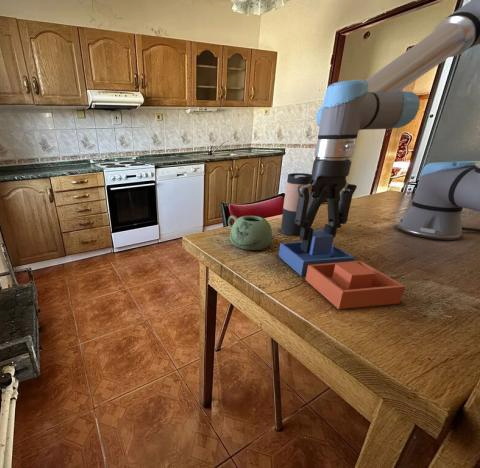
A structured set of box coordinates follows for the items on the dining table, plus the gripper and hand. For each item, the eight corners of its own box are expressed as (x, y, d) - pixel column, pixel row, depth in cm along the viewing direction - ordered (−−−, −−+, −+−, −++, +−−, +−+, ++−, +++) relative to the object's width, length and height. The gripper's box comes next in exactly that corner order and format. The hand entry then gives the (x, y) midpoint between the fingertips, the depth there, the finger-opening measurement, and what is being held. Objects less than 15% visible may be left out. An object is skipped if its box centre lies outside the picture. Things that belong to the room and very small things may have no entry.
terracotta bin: (356, 275, 63) (360, 260, 61) (399, 303, 52) (405, 286, 51) (305, 279, 62) (308, 264, 60) (338, 309, 51) (342, 292, 50)
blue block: (317, 246, 70) (321, 229, 68) (330, 254, 65) (334, 236, 64) (300, 247, 70) (303, 230, 68) (311, 255, 65) (315, 237, 63)
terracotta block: (351, 281, 59) (356, 262, 57) (368, 294, 55) (375, 273, 53) (330, 283, 59) (335, 263, 57) (346, 295, 54) (352, 275, 52)
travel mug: (299, 228, 94) (308, 172, 86) (307, 236, 86) (318, 176, 79) (277, 228, 94) (284, 173, 87) (283, 236, 87) (292, 176, 80)
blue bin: (321, 252, 75) (324, 239, 73) (351, 271, 64) (354, 257, 63) (278, 256, 74) (280, 243, 72) (301, 276, 63) (303, 261, 62)
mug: (280, 245, 81) (283, 218, 77) (253, 256, 74) (256, 228, 71) (239, 231, 93) (241, 208, 90) (214, 240, 86) (215, 215, 83)
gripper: (305, 161, 55) (289, 258, 63) (383, 158, 56) (357, 253, 65) (286, 158, 62) (275, 246, 70) (356, 155, 63) (336, 242, 72)
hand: (314, 249), depth 67 cm, fingers closed on blue block, 5 cm apart
